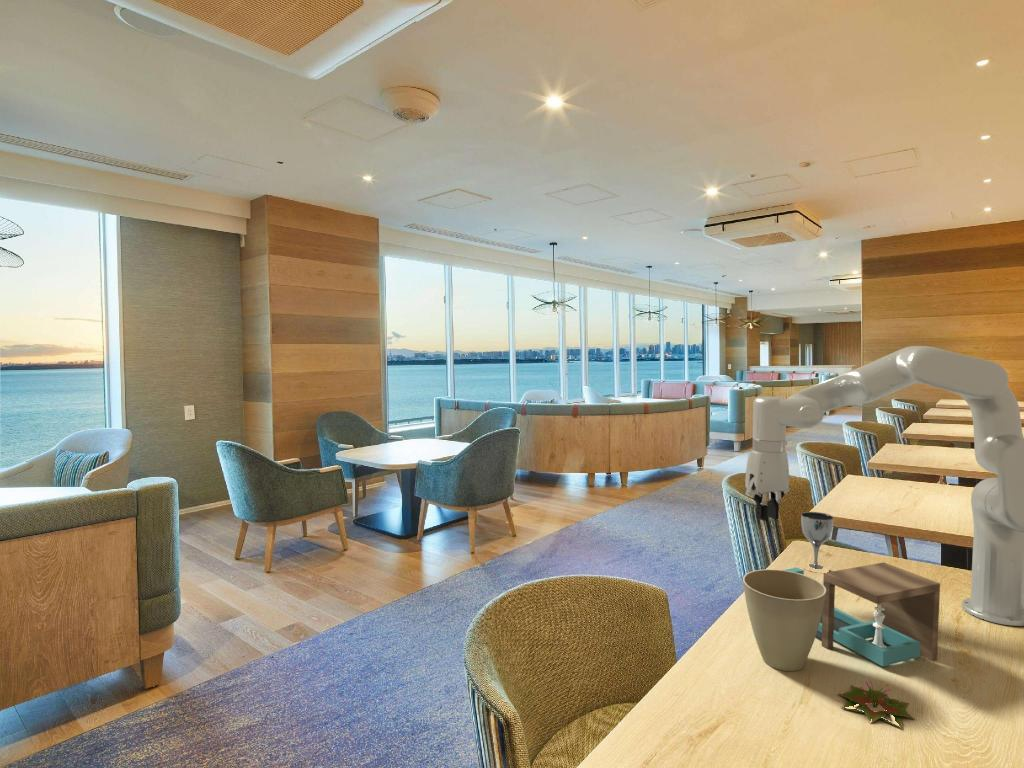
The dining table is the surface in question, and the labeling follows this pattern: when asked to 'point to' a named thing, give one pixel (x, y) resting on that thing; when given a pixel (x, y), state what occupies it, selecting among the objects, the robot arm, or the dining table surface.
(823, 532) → the wine glass
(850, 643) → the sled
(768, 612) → the plant pot
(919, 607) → the tunnel
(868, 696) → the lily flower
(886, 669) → the dining table surface
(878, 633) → the chess piece
